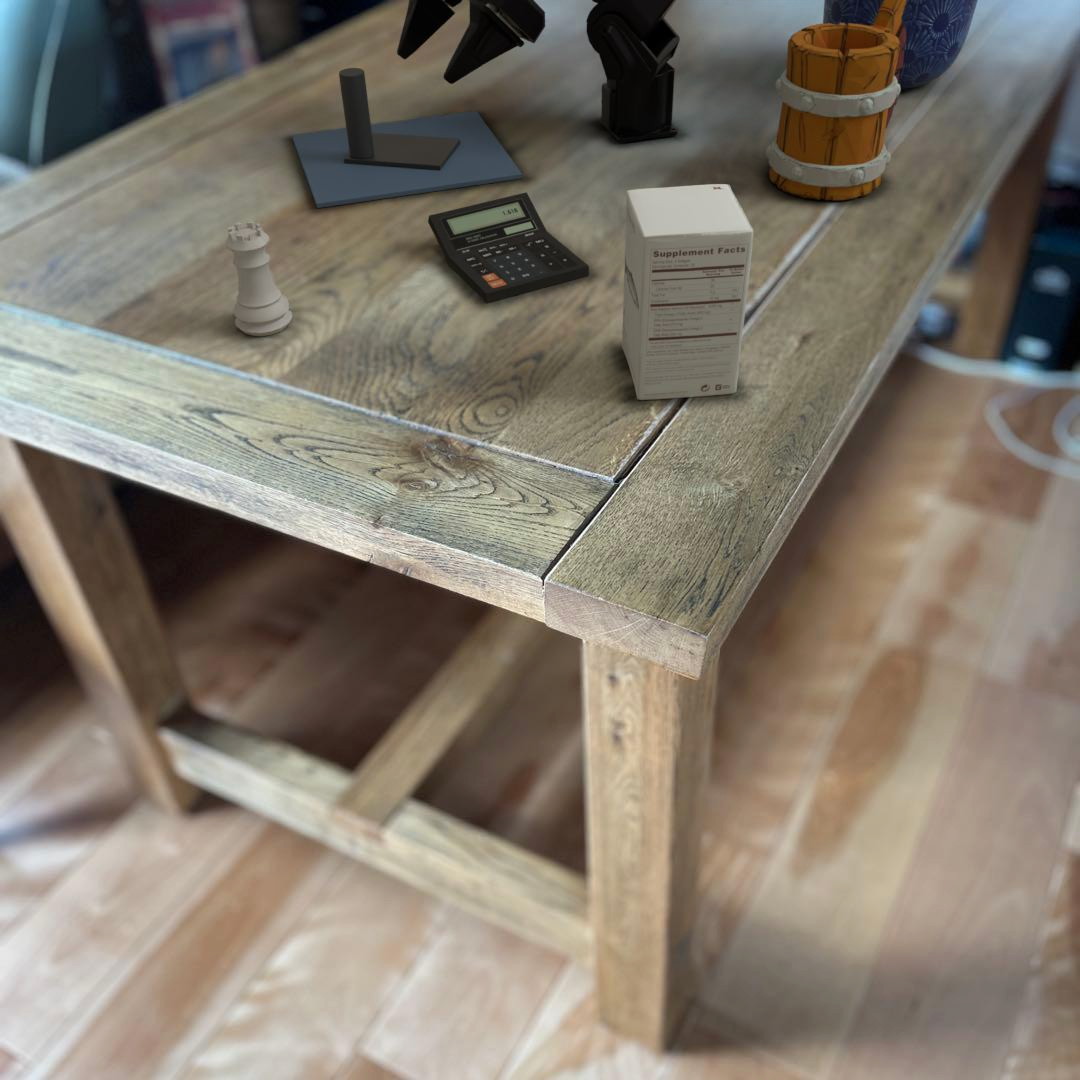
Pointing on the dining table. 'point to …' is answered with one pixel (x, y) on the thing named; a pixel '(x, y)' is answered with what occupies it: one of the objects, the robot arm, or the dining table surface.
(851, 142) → the mug
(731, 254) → the white packaging box
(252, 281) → the rook chess piece
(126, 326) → the dining table surface
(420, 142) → the peg stand
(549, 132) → the dining table surface
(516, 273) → the calculator
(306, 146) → the felt mat
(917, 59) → the planter
